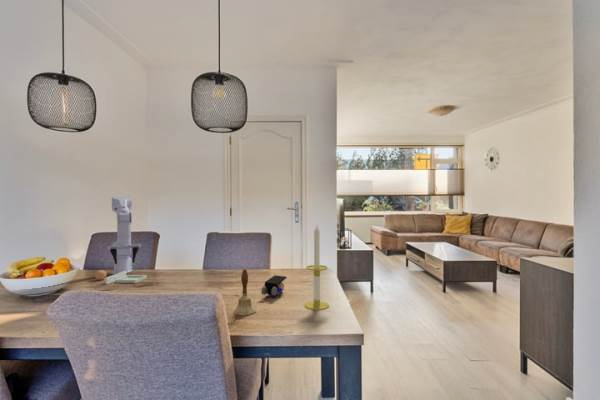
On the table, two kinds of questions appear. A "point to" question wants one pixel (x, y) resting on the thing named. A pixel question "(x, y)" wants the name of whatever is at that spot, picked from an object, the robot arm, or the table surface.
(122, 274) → the wall
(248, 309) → the hand bell
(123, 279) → the tray
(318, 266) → the candle
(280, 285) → the figurine character
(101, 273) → the ball
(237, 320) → the table surface
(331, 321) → the table surface
